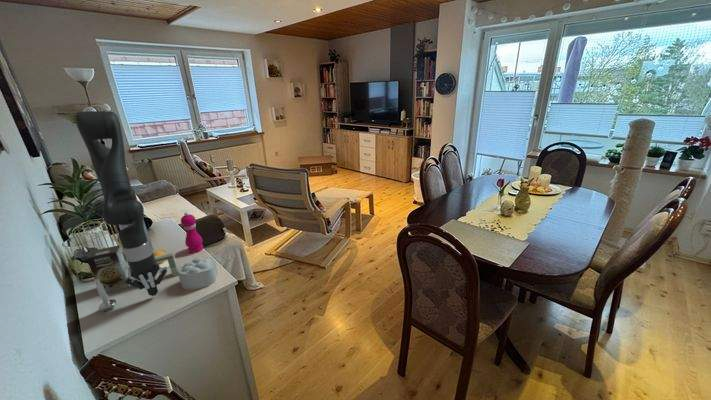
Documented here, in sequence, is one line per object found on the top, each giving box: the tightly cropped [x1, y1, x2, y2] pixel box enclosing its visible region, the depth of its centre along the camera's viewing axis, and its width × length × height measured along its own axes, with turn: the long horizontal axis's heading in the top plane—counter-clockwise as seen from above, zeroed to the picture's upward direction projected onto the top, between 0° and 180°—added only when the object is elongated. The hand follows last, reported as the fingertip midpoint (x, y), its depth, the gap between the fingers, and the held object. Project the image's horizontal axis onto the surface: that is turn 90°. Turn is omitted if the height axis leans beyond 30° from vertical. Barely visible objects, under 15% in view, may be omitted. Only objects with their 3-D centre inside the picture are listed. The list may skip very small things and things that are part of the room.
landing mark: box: [157, 252, 176, 268], centre depth 129 cm, size 12×12×1 cm
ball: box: [153, 249, 168, 263], centre depth 128 cm, size 6×6×6 cm
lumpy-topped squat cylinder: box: [177, 257, 218, 291], centre depth 114 cm, size 10×13×9 cm
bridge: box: [127, 251, 179, 289], centre depth 115 cm, size 3×15×10 cm, turn 120°
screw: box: [93, 278, 117, 312], centre depth 100 cm, size 13×5×5 cm
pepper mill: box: [180, 211, 204, 254], centre depth 135 cm, size 7×7×20 cm
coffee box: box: [85, 244, 130, 293], centre depth 111 cm, size 9×6×16 cm
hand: (154, 294), depth 106 cm, fingers closed
